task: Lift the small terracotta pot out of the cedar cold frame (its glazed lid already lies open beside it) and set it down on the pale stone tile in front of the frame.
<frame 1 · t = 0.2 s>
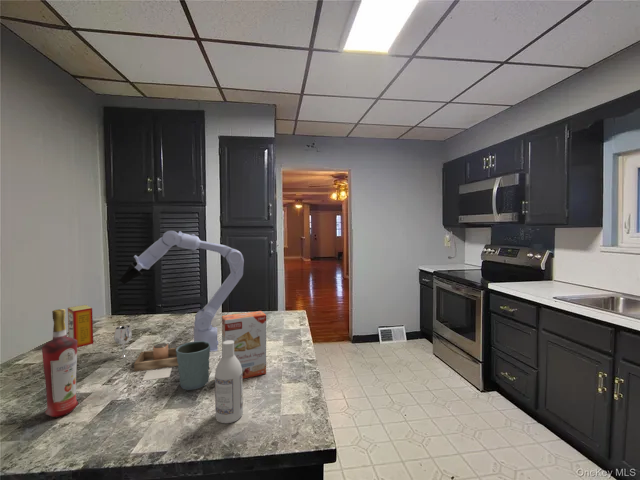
hand: (123, 280, 115), 31 cm above the counter, tool tilted 45°, fingers open, 7 cm apart
bath foam: (229, 416, 81), on the counter
pot: (161, 361, 114), resting on cold frame
green cup: (194, 383, 99), on the counter
baking soda box: (81, 343, 134), on the counter
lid: (164, 354, 122), on the counter
cracker box: (244, 375, 104), on the counter
liquor: (62, 412, 83), on the counter
cold frame: (161, 363, 114), on the counter
wineglass: (123, 358, 118), on the counter
tile: (157, 375, 104), on the counter
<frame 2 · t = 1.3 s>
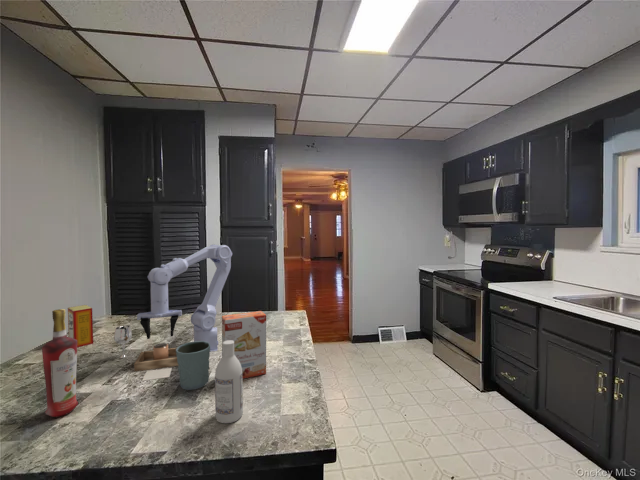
hand: (160, 336, 113), 10 cm above the counter, tool pointing down, fingers open, 7 cm apart
nothing on the counter moved.
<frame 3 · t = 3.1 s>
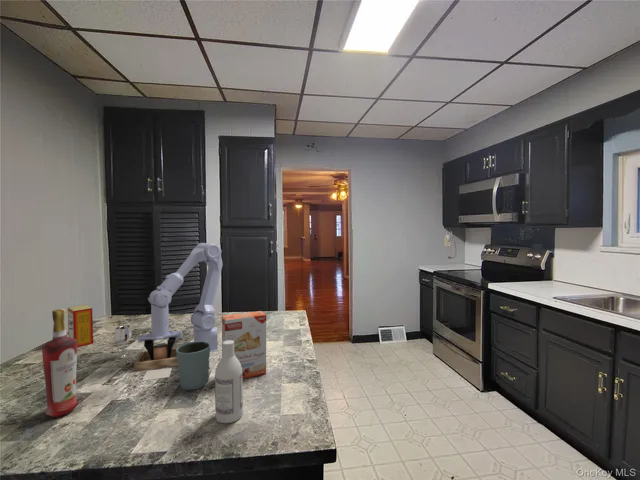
hand: (161, 358, 114), 2 cm above the counter, tool pointing down, fingers closed on pot, 5 cm apart
pot: (161, 361, 114), resting on cold frame, touching gripper
everything else where it was.
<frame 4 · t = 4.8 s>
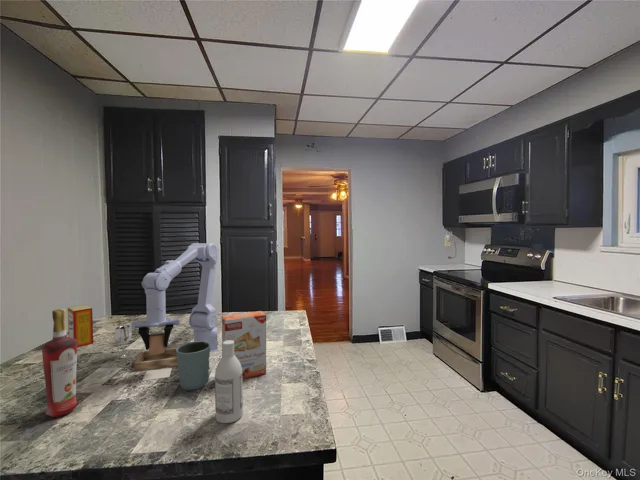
hand: (157, 347, 104), 9 cm above the counter, tool pointing down, fingers closed on pot, 5 cm apart
pot: (157, 352, 104), point 8 cm above the counter, touching gripper
everything else where it was.
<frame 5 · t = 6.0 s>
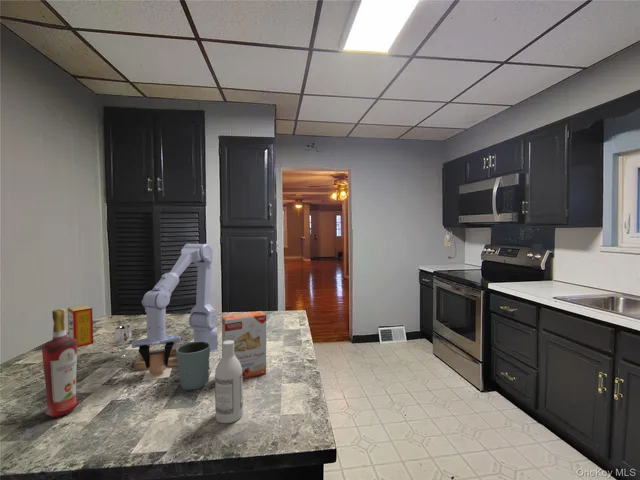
hand: (157, 365, 104), 3 cm above the counter, tool pointing down, fingers closed on pot, 5 cm apart
pot: (157, 370, 104), point 2 cm above the counter, touching gripper
everything else where it was.
when the fingers open (3 cm above the counter, at t = 6.9 s): pot drops 1 cm, resting on tile.
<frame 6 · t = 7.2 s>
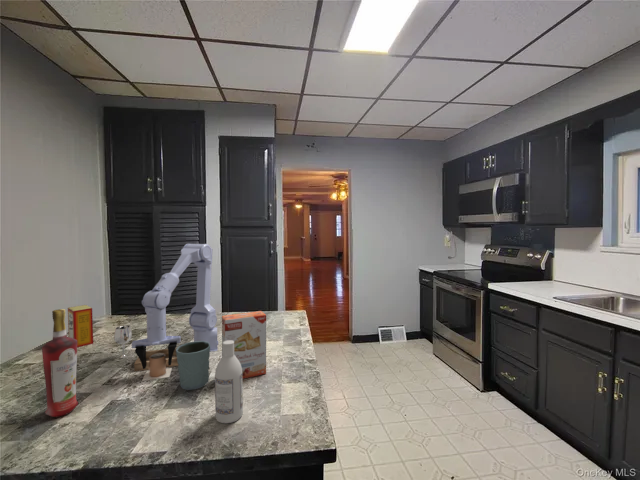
hand: (157, 365, 104), 3 cm above the counter, tool pointing down, fingers open, 7 cm apart
pot: (157, 373, 104), point 1 cm above the counter, touching tile
everything else where it was.
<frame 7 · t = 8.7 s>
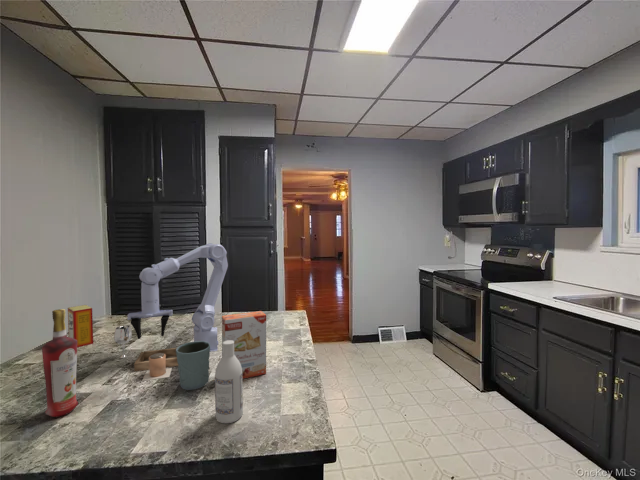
hand: (151, 336, 114), 10 cm above the counter, tool pointing down, fingers open, 7 cm apart
nothing on the counter moved.
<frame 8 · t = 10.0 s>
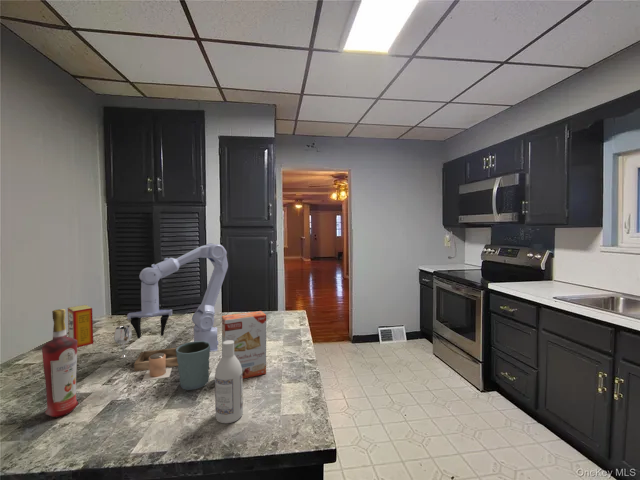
hand: (150, 336, 114), 10 cm above the counter, tool pointing down, fingers open, 7 cm apart
nothing on the counter moved.
at the end: pot inside the target area on the tile (0.2 cm from its centre), point 0.6 cm above the tile's base; pot tilted 0°; the gripper is holding nothing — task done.
